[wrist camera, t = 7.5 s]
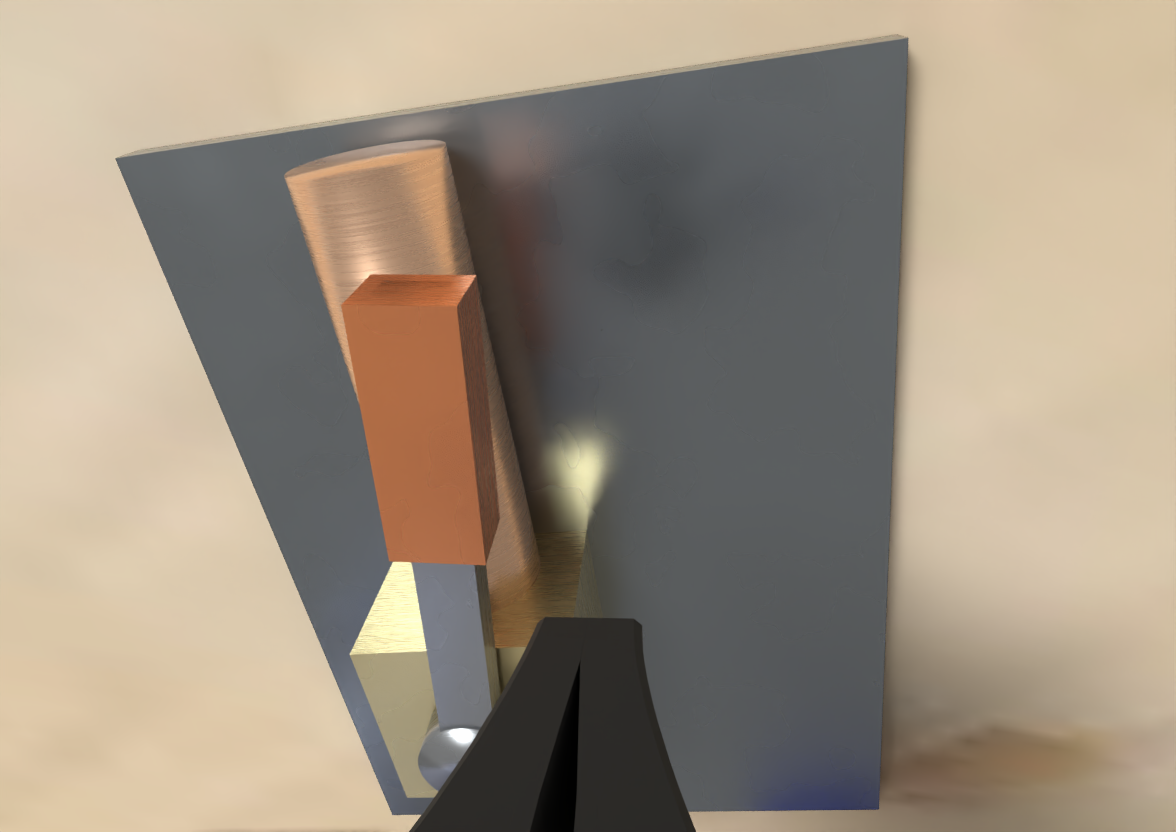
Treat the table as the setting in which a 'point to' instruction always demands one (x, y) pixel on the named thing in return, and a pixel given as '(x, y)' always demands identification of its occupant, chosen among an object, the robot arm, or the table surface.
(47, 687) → the table surface
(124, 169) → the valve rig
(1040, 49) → the table surface
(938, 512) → the table surface
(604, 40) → the table surface
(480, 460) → the valve lever
